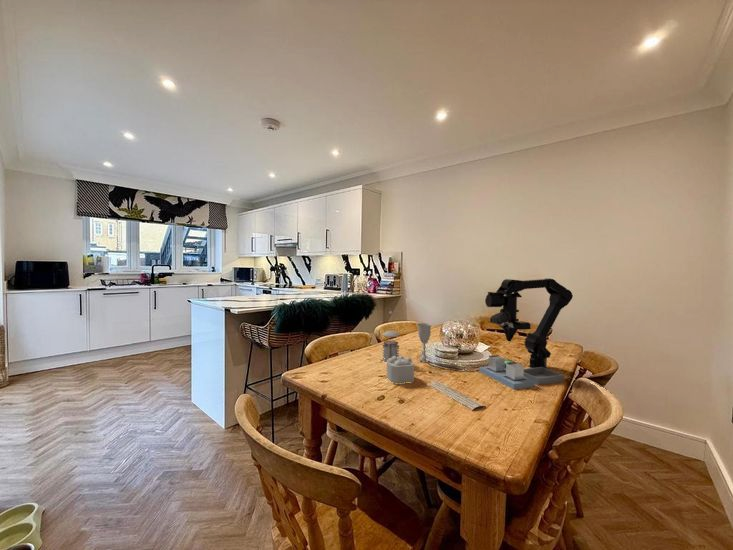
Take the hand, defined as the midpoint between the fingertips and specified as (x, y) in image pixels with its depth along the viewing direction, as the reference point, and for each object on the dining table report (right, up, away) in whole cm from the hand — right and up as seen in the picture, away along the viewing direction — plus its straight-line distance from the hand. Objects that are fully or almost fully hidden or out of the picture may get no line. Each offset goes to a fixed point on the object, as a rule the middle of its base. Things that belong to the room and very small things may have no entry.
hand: (508, 341), depth 137 cm
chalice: (-36, -13, +12) cm, 40 cm away
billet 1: (-9, -13, -8) cm, 18 cm away
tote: (+7, -13, -12) cm, 19 cm away
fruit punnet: (-51, -13, -11) cm, 54 cm away
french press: (-53, -13, +9) cm, 55 cm away
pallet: (-7, -13, -12) cm, 20 cm away
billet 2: (-6, -13, -17) cm, 23 cm away
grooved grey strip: (-32, -14, -27) cm, 45 cm away
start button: (0, -12, 0) cm, 12 cm away
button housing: (0, -13, 0) cm, 13 cm away
